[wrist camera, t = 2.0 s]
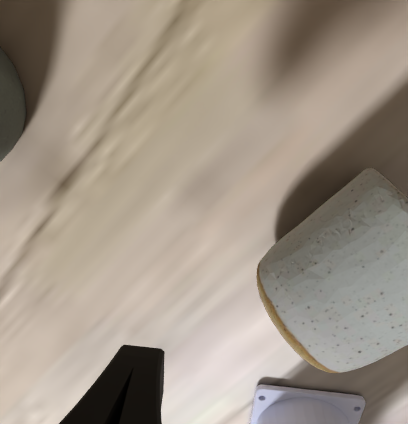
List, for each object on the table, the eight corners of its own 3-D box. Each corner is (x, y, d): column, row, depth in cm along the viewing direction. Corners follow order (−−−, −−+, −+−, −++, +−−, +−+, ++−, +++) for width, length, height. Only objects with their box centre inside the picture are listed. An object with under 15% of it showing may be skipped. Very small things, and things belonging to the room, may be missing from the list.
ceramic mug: (242, 244, 21) (250, 337, 14) (350, 148, 18) (431, 202, 11) (351, 338, 23) (406, 457, 16) (461, 266, 20) (586, 372, 13)
